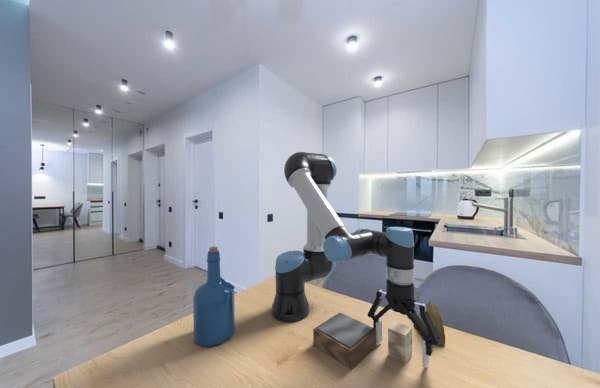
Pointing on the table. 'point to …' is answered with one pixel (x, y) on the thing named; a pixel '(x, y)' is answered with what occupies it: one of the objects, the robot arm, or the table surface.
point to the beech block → (400, 342)
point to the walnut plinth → (345, 339)
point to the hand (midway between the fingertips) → (400, 352)
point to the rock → (435, 321)
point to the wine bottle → (213, 305)
